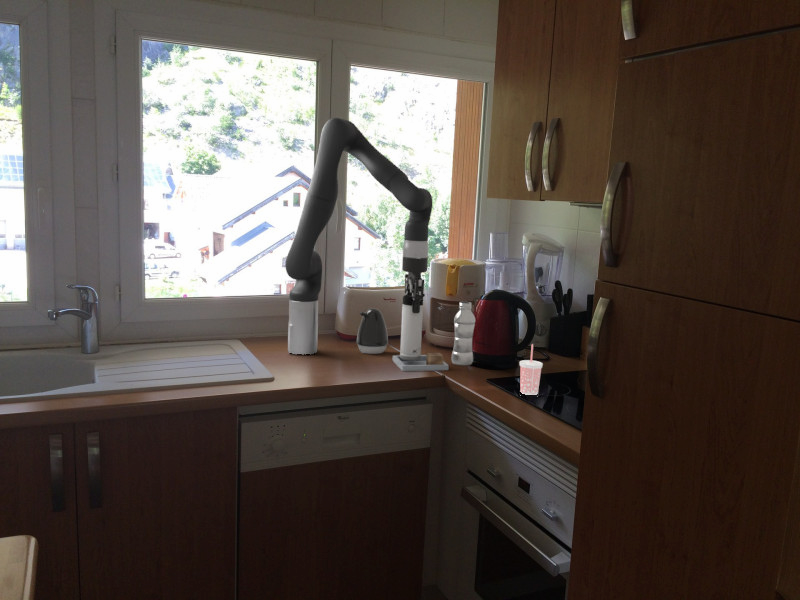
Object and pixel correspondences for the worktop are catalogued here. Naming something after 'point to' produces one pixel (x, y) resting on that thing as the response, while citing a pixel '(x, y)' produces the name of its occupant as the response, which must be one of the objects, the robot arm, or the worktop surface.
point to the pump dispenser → (372, 332)
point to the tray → (418, 364)
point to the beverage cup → (530, 375)
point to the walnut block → (434, 359)
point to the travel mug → (411, 330)
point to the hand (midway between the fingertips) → (412, 310)
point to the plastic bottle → (463, 335)
